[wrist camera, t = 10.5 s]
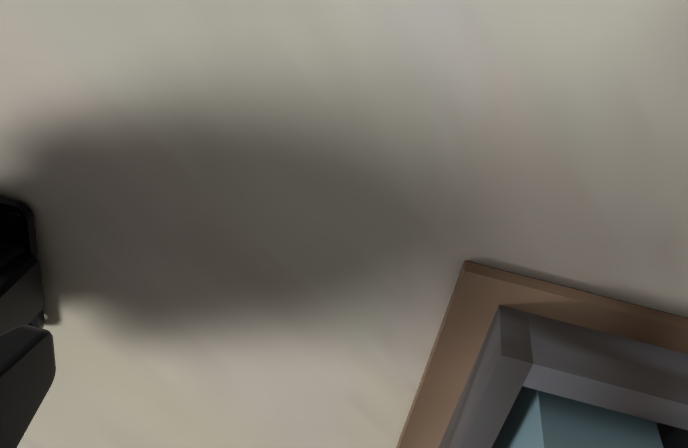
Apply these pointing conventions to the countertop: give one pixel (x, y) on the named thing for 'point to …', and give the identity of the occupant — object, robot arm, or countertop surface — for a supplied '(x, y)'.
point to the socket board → (545, 359)
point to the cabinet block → (571, 425)
